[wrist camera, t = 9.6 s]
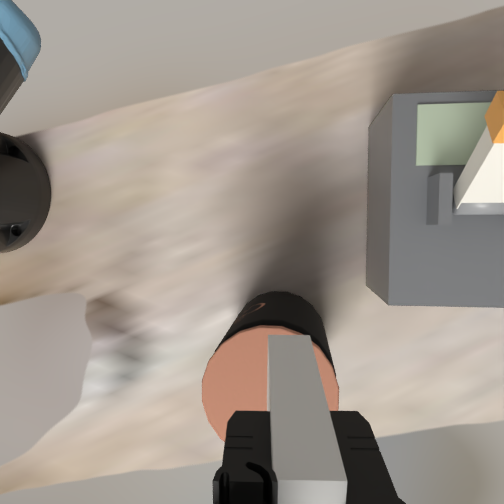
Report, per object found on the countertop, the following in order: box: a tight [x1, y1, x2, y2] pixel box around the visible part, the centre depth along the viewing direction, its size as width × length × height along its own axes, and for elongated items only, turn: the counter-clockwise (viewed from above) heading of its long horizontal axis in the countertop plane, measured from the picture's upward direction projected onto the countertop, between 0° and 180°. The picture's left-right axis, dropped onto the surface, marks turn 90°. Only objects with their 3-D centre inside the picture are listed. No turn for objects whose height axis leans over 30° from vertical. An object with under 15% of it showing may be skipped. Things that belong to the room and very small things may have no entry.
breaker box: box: [366, 90, 504, 308], centre depth 39 cm, size 14×18×15 cm
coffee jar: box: [202, 292, 339, 442], centre depth 40 cm, size 11×11×18 cm
